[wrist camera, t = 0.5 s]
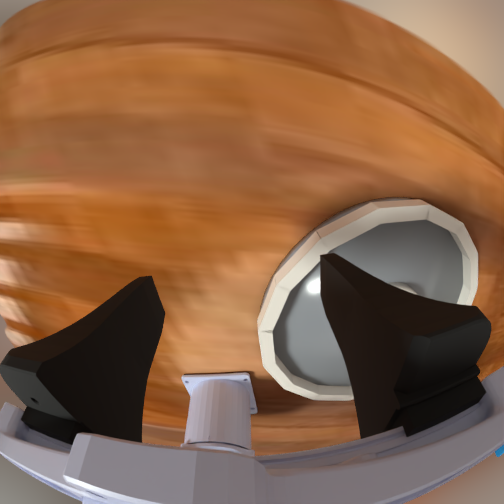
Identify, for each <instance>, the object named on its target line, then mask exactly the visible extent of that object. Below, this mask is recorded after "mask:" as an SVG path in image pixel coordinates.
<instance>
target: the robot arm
mask: <svg viewBox="0 0 504 504" xmlns="http://www.w3.org/2000/svg"><path fill="white" fill-rule="evenodd" d="M320 296H321V300H322V304H323V307H324V311H325V314H326V317H327V319H328V322H329V324H330V326H331V329H332V331H333V334H334V336H335V338H336V341H337V343H338V345H339V348H340V350H341V353H342V355H343V358H344V361H345V364H346V368H347V372H348V376H349V379H350V384H351V388H352V392H353V397H354V401H355V406H356V412H357V417H358V423H359V429H360V436H361V439H359V440H355V441H351V442H347V443H343V444H338V445H334V446H329V447H324V448H319V449H313V450H307V451H300V452H293V453H285V454H276V455H265V456H255V450H251V414H255V413H257V412H258V411H257V406H256V401H255V397H254V392H253V388H252V383H251V379H250V375H249V373H246V372H244V373H229V374H206V375H183V376H182V381H183V383H184V385H185V387H186V389H187V391H188V393H189V394H190V396H191V399H190V406H189V412H188V419H187V426H186V433H185V441H184V444H181V447H175V446H164V445H155V444H147V443H142V417H143V406H144V397H145V391H146V384H147V379H148V375H149V371H150V368H151V364H152V361H153V358H154V355H155V352H156V349H157V346H158V343H159V339H160V336H161V333H162V329H163V323H164V317H165V311H164V309H163V306H162V303H161V301H160V298H159V295H158V292H157V290H156V287H155V284H154V281H153V278H152V276H145V277H139V278H137V279H135V280H134V281H132V282H131V283H129V284H128V285H127V286H125V287H124V288H123V289H121V290H120V291H119V292H117V293H116V294H115V295H114V296H112V297H111V298H110V299H108V300H107V301H106V302H104V303H103V304H102V305H100V306H99V307H98V308H96V309H95V310H94V311H92V312H91V313H89V314H88V315H86V316H85V317H83V318H82V319H80V320H79V321H77V322H75V323H74V324H72V325H70V326H68V327H66V328H64V329H63V330H61V331H59V332H57V333H55V334H53V335H50V336H48V337H46V338H44V339H41V340H39V341H36V342H33V343H30V344H27V345H24V346H20V347H17V348H13V349H11V350H10V351H9V352H8V354H7V355H6V356H5V358H4V360H3V361H2V363H1V364H0V374H1V376H2V377H3V379H4V381H5V382H6V383H7V385H8V386H9V387H10V388H11V390H12V391H13V392H14V393H15V394H16V395H17V396H18V397H19V398H20V400H21V401H22V402H23V403H24V404H25V405H26V406H27V407H26V409H25V411H23V410H22V409H21V408H19V407H17V406H15V405H12V404H10V403H8V402H5V404H4V406H3V407H2V409H1V412H0V454H1V455H2V456H3V457H5V458H6V459H7V460H9V461H10V462H12V463H13V464H14V465H16V466H17V467H19V468H20V469H22V470H23V471H25V472H26V473H28V474H29V475H31V476H33V477H34V478H36V479H38V480H40V481H41V482H43V483H45V484H47V485H49V486H51V487H53V488H54V489H56V490H58V491H60V492H63V493H65V494H67V495H69V496H71V497H73V498H75V499H77V500H80V501H82V504H403V503H405V502H408V501H410V500H413V499H415V498H417V497H419V496H421V495H424V494H426V493H428V492H430V491H431V490H434V489H436V488H438V487H439V486H441V485H443V484H445V483H447V482H448V481H450V480H452V479H454V478H456V477H457V476H459V475H461V474H462V473H464V472H465V471H467V470H469V469H470V468H472V467H473V466H475V465H476V464H478V463H479V462H481V461H482V460H484V459H485V458H487V457H488V456H489V455H491V454H492V453H494V452H495V451H496V450H498V449H499V448H500V447H501V446H502V445H504V366H503V367H501V368H500V369H498V370H497V371H495V372H493V373H492V374H490V375H489V376H487V377H486V378H485V379H484V380H483V381H482V382H480V380H479V379H478V377H477V376H478V375H479V373H480V369H479V368H478V366H477V365H476V363H477V361H478V359H479V358H480V356H481V354H482V352H483V350H484V349H485V347H486V345H487V343H488V340H489V338H490V334H491V323H490V321H489V320H488V319H487V318H486V317H485V315H484V314H483V313H482V312H481V311H480V310H479V308H478V307H477V306H470V305H462V304H453V303H448V302H443V301H438V300H434V299H430V298H426V297H423V296H420V295H417V294H413V293H410V292H408V291H405V290H402V289H400V288H398V287H395V286H393V285H390V284H388V283H386V282H384V281H382V280H380V279H378V278H376V277H374V276H373V275H371V274H369V273H367V272H365V271H364V270H362V269H360V268H359V267H357V266H355V265H354V264H352V263H351V262H349V261H347V260H346V259H344V258H343V257H341V256H339V255H337V254H335V253H330V254H322V255H320Z"/></svg>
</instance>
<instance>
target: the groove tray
mask: <svg viewBox="0 0 504 504" xmlns="http://www.w3.org/2000/svg"><path fill="white" fill-rule="evenodd" d="M330 253H335V254H337V255H339V256H341V257H343V258H344V259H346V260H347V261H349V262H351V263H352V264H354V265H355V266H357V267H359V268H360V269H362V270H364V271H365V272H367V273H369V274H371V275H373V276H374V277H376V278H378V279H380V280H382V281H384V282H386V283H388V284H390V285H393V286H395V287H398V288H400V289H402V290H405V291H408V292H410V293H413V294H417V295H420V296H423V297H426V298H430V299H434V300H438V301H443V302H448V303H453V304H462V305H470V306H471V305H472V302H473V299H474V296H475V294H476V291H477V287H478V252H477V250H476V248H475V246H474V244H473V242H472V239H471V237H470V235H469V233H468V231H467V230H466V228H465V226H464V224H463V223H462V222H461V221H459V220H457V219H456V218H454V217H452V216H451V215H449V214H447V213H445V212H443V211H442V210H440V209H438V208H436V207H435V206H433V205H431V204H428V203H427V202H425V201H423V200H421V199H412V198H407V197H388V198H380V199H374V200H370V201H367V202H363V203H360V204H357V205H355V206H352V207H350V208H348V209H345V210H343V211H341V212H339V213H337V214H335V215H334V216H332V217H330V218H329V219H327V220H325V221H324V222H322V223H321V224H320V225H318V226H317V227H316V228H314V229H313V230H312V231H310V232H309V233H308V234H307V235H306V236H305V237H303V238H302V239H301V240H300V241H299V242H298V243H297V244H296V245H295V246H294V247H293V248H292V249H291V251H290V252H289V253H288V254H287V256H286V257H285V258H284V259H283V260H282V262H281V263H280V265H279V266H278V268H277V269H276V271H275V273H274V274H273V276H272V277H271V279H270V282H269V284H268V286H267V288H266V290H265V293H264V296H263V300H262V303H261V307H260V314H259V317H258V319H257V323H258V335H259V342H260V348H261V355H262V362H263V367H264V368H265V369H266V370H267V371H268V372H269V373H270V374H271V376H272V377H273V378H274V379H275V380H276V381H277V382H278V383H279V384H280V385H281V386H282V387H283V388H284V389H285V390H288V391H290V392H293V393H296V394H298V395H301V396H304V397H306V398H309V399H312V400H326V401H349V400H353V399H354V397H353V392H352V388H351V384H350V379H349V376H348V372H347V368H346V364H345V361H344V358H343V355H342V353H341V350H340V348H339V345H338V343H337V341H336V338H335V336H334V334H333V331H332V329H331V326H330V324H329V322H328V319H327V317H326V314H325V311H324V307H323V304H322V300H321V296H320V255H322V254H330Z"/></svg>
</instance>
